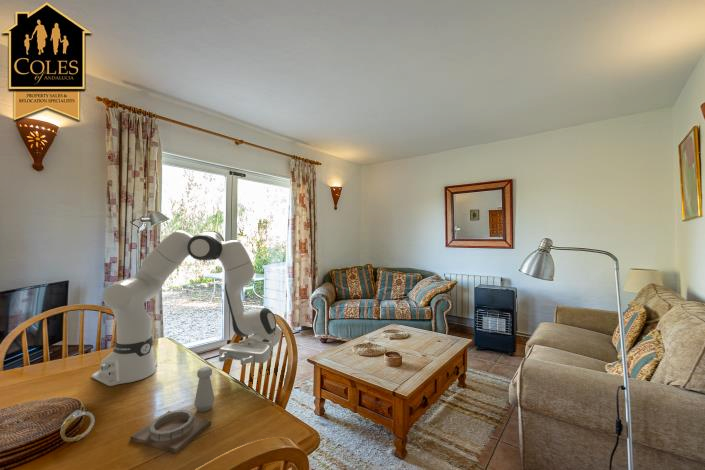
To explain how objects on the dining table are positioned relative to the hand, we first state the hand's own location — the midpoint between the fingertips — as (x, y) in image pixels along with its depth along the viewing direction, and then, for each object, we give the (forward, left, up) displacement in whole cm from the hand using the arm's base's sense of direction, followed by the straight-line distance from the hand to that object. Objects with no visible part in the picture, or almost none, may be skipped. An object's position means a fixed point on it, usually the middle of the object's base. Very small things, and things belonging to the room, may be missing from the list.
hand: (231, 361), depth 107 cm
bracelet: (-22, -34, -11) cm, 42 cm away
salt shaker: (0, -12, -11) cm, 16 cm away
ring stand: (0, -24, -10) cm, 26 cm away
